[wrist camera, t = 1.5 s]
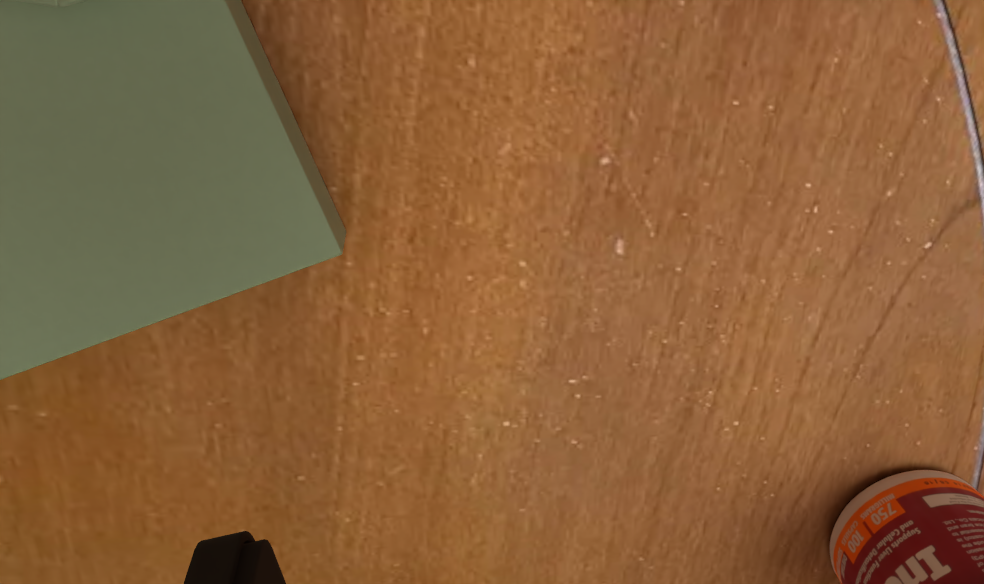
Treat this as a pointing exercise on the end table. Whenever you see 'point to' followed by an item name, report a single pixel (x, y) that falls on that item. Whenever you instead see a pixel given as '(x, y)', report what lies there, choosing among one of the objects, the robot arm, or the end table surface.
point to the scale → (142, 170)
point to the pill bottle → (911, 532)
